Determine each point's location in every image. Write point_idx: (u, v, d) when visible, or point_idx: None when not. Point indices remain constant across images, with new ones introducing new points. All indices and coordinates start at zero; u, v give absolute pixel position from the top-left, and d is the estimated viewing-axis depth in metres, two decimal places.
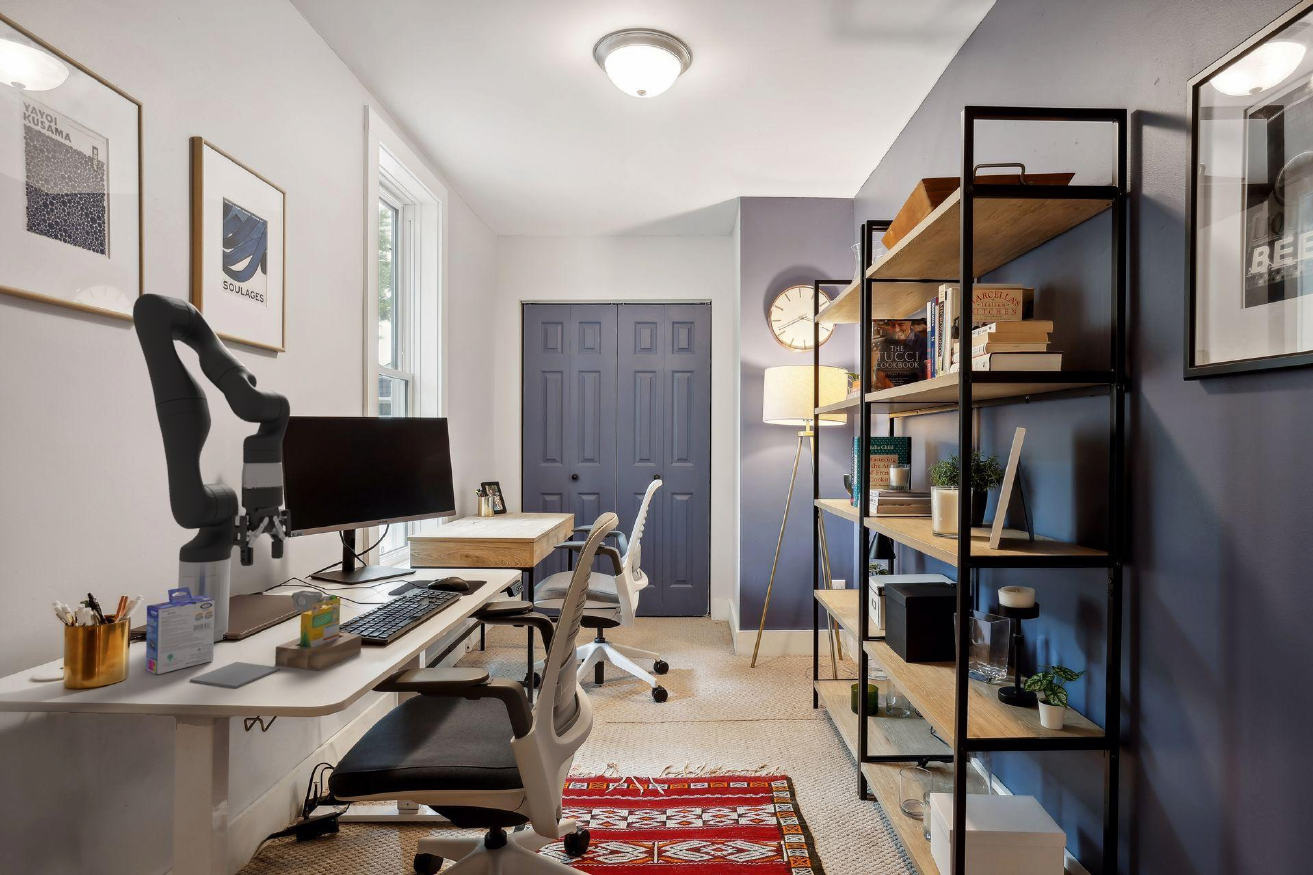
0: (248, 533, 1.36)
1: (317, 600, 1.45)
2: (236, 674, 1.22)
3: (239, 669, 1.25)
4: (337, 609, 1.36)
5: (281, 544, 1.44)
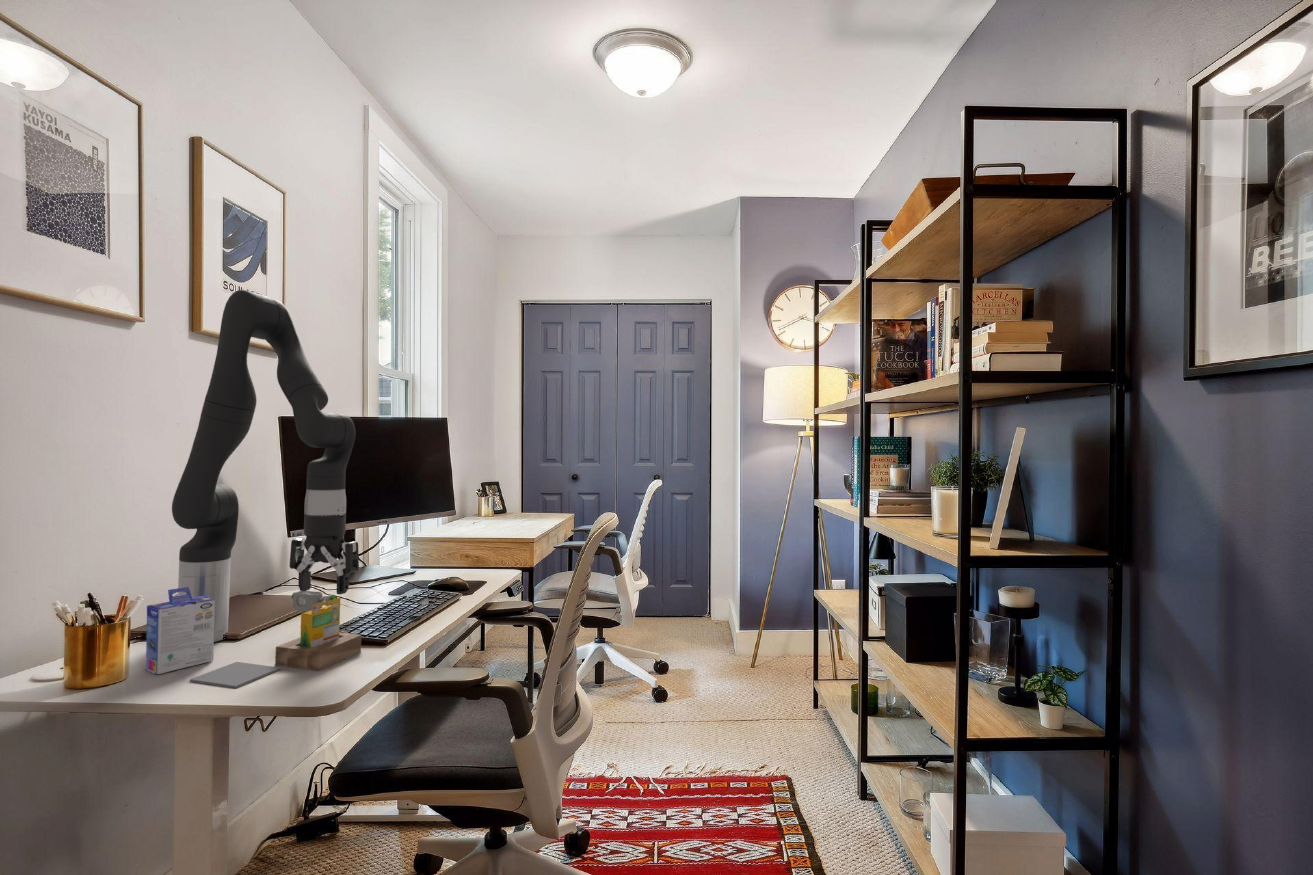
0: (341, 561, 1.33)
1: (317, 600, 1.45)
2: (236, 674, 1.22)
3: (239, 669, 1.25)
4: (337, 609, 1.36)
5: None
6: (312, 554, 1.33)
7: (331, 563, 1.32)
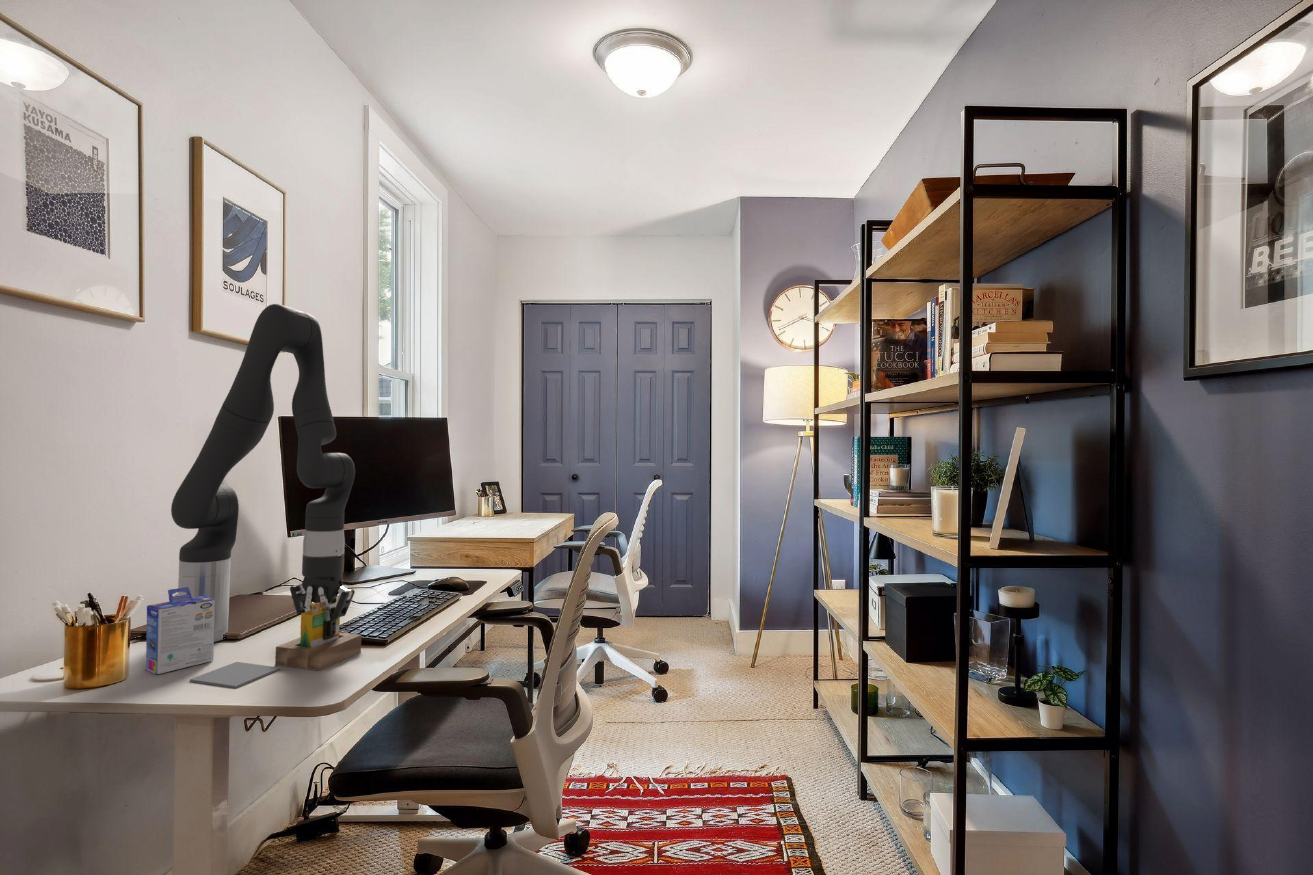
0: (332, 605, 1.34)
1: None
2: (236, 674, 1.22)
3: (239, 669, 1.25)
4: None
5: None
6: (312, 595, 1.33)
7: (323, 606, 1.32)
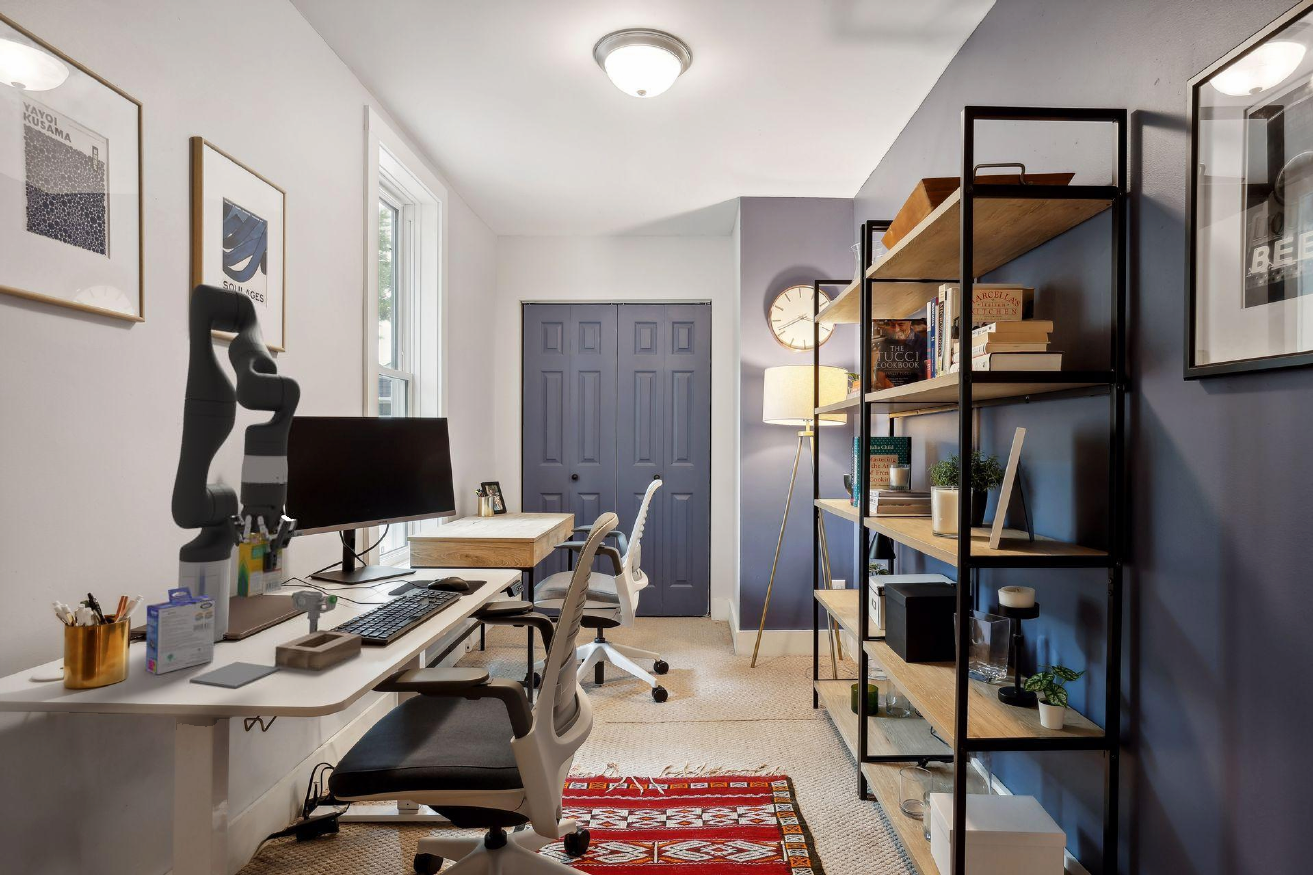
0: (273, 536, 1.25)
1: (317, 600, 1.45)
2: (236, 674, 1.22)
3: (239, 669, 1.25)
4: None
5: None
6: (251, 524, 1.24)
7: (263, 536, 1.24)
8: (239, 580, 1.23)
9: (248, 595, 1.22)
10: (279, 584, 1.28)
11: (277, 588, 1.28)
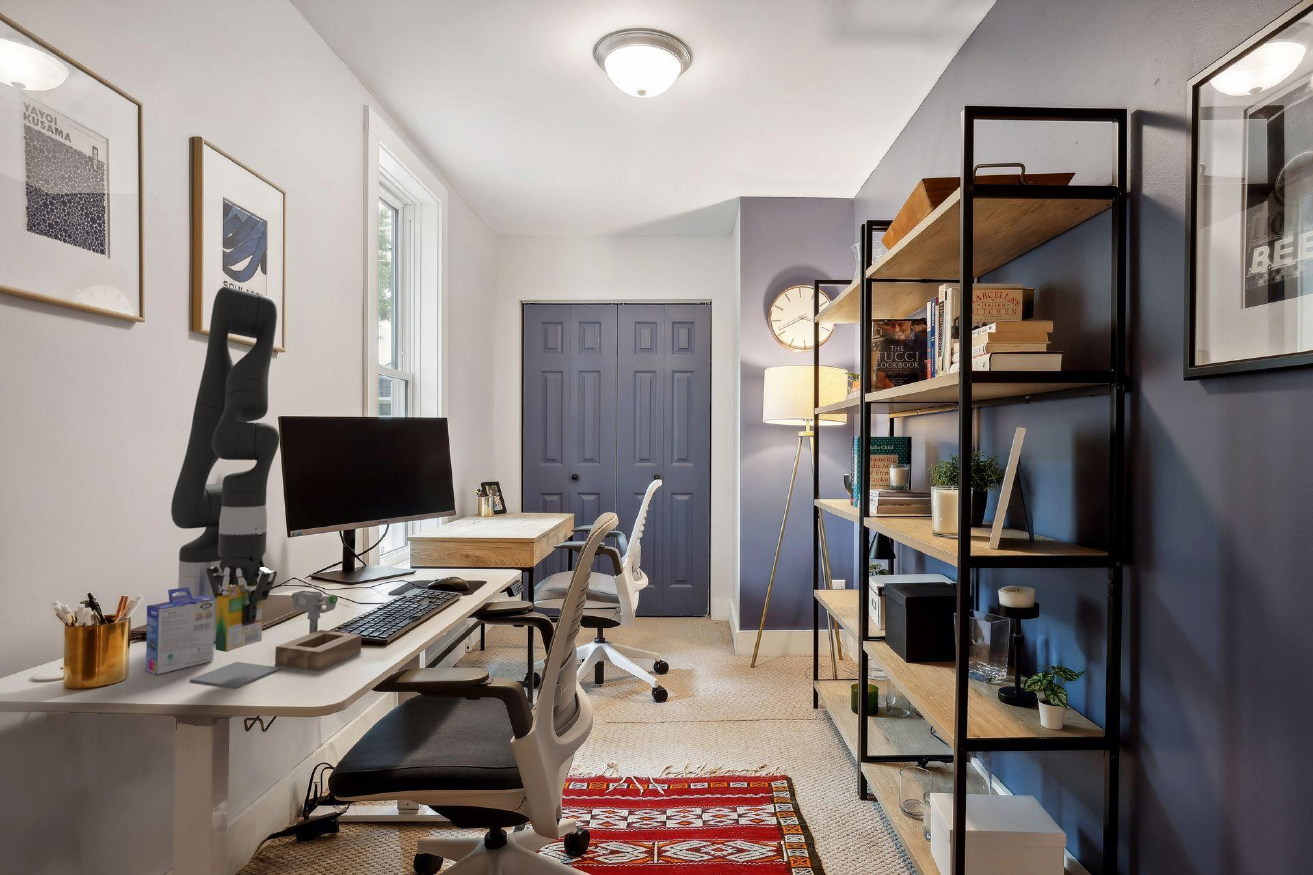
0: (252, 588, 1.23)
1: (317, 600, 1.45)
2: (236, 674, 1.22)
3: (239, 669, 1.25)
4: None
5: None
6: (230, 576, 1.22)
7: (241, 588, 1.21)
8: (217, 634, 1.20)
9: (226, 649, 1.19)
10: (259, 636, 1.26)
11: (257, 640, 1.25)
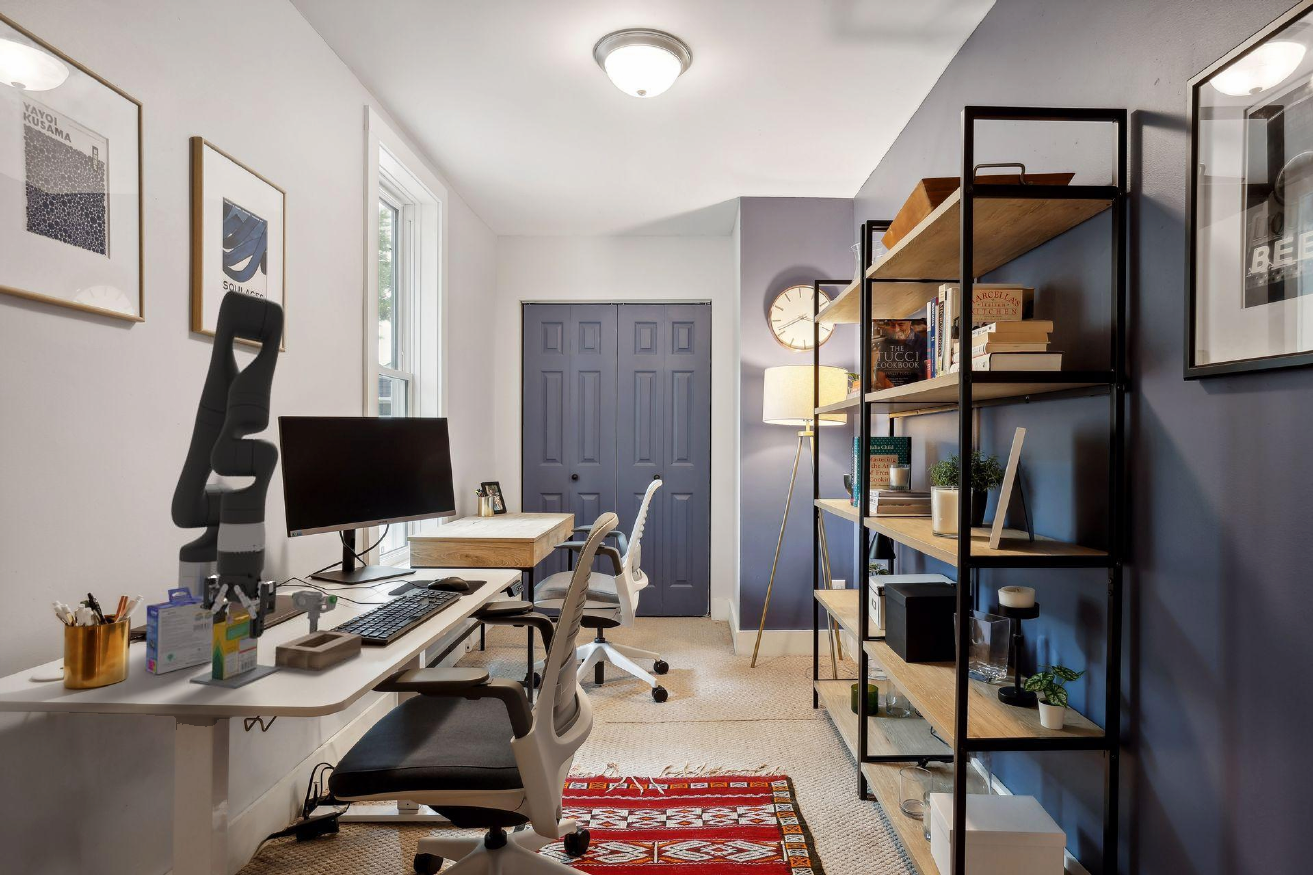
0: (256, 601, 1.22)
1: (317, 600, 1.45)
2: None
3: None
4: None
5: None
6: (226, 593, 1.22)
7: (245, 604, 1.21)
8: (214, 662, 1.20)
9: (223, 678, 1.19)
10: (255, 662, 1.26)
11: (253, 666, 1.25)
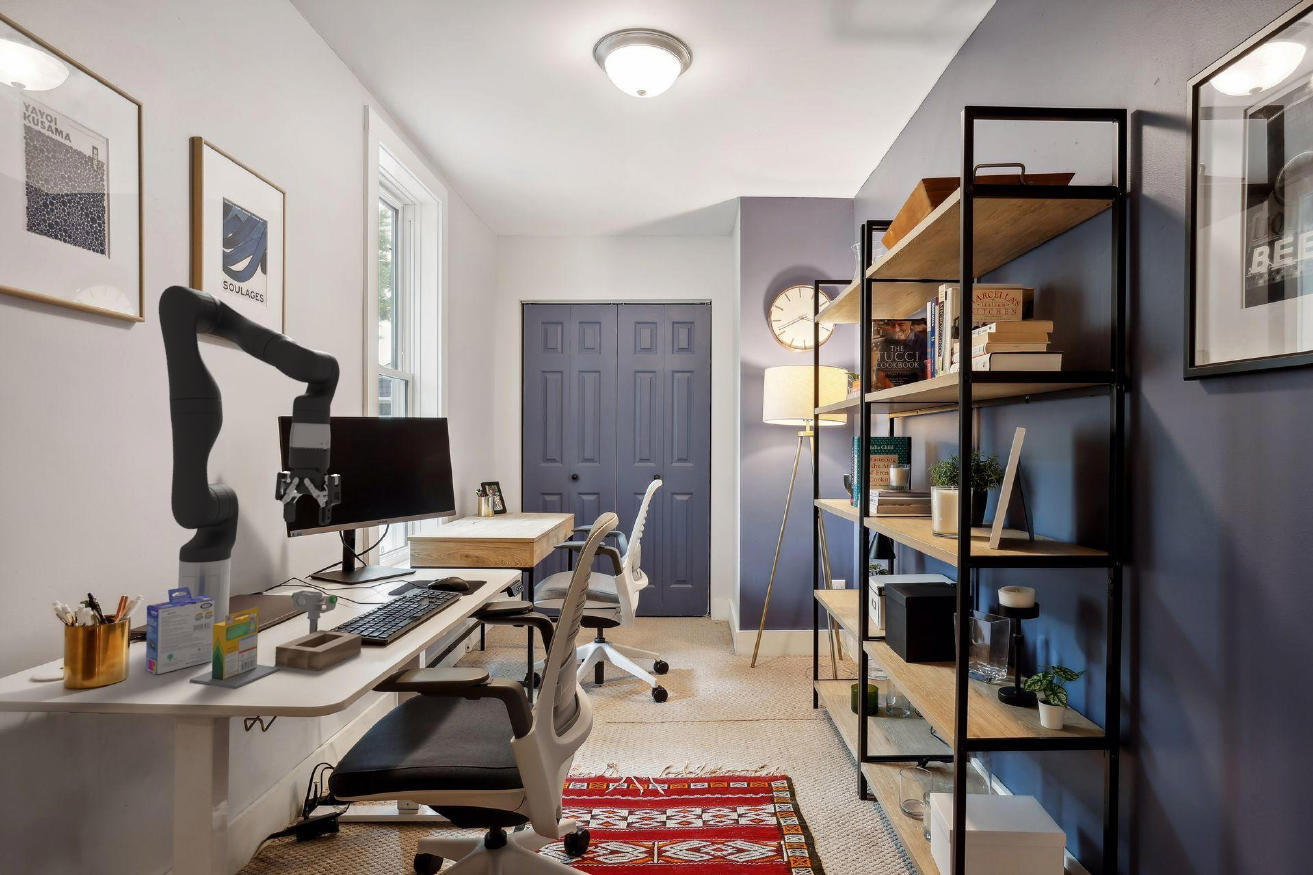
0: (323, 493, 1.38)
1: (317, 600, 1.45)
2: None
3: None
4: (255, 619, 1.26)
5: None
6: (296, 486, 1.38)
7: (314, 494, 1.36)
8: (214, 662, 1.20)
9: (223, 678, 1.19)
10: (255, 662, 1.26)
11: (253, 666, 1.25)
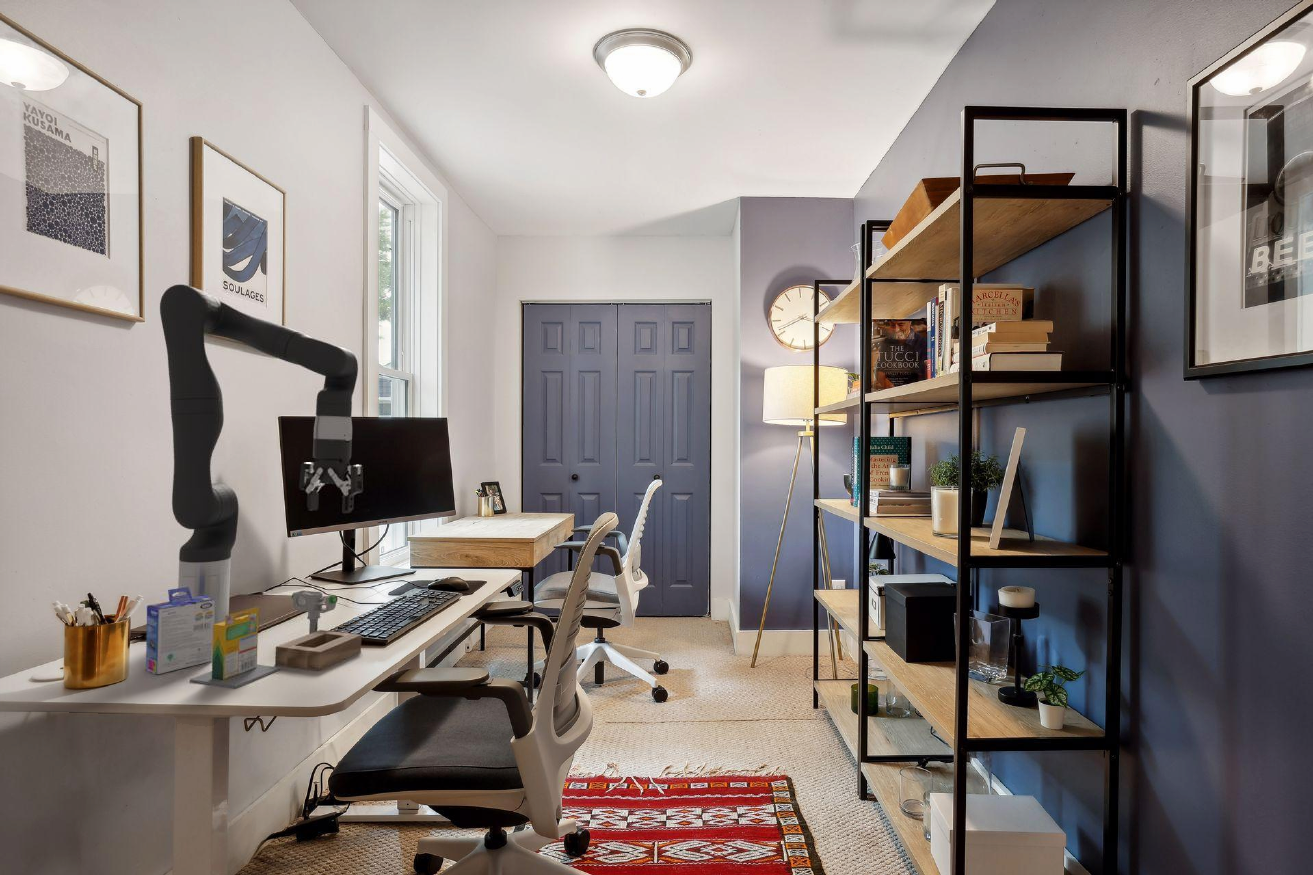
0: (346, 482, 1.45)
1: (317, 600, 1.45)
2: None
3: None
4: (255, 619, 1.26)
5: None
6: (320, 476, 1.44)
7: (338, 483, 1.43)
8: (214, 662, 1.20)
9: (223, 678, 1.19)
10: (255, 662, 1.26)
11: (253, 666, 1.25)
